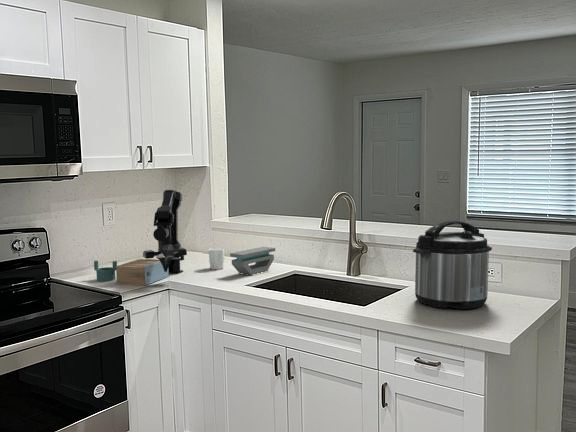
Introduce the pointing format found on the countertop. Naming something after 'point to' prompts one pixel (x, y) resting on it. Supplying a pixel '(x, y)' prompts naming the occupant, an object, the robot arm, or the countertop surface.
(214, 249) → the white cup
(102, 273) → the bracket
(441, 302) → the pressure cooker
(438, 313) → the countertop surface
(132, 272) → the walnut cabinet
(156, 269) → the cabinet door
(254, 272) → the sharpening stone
